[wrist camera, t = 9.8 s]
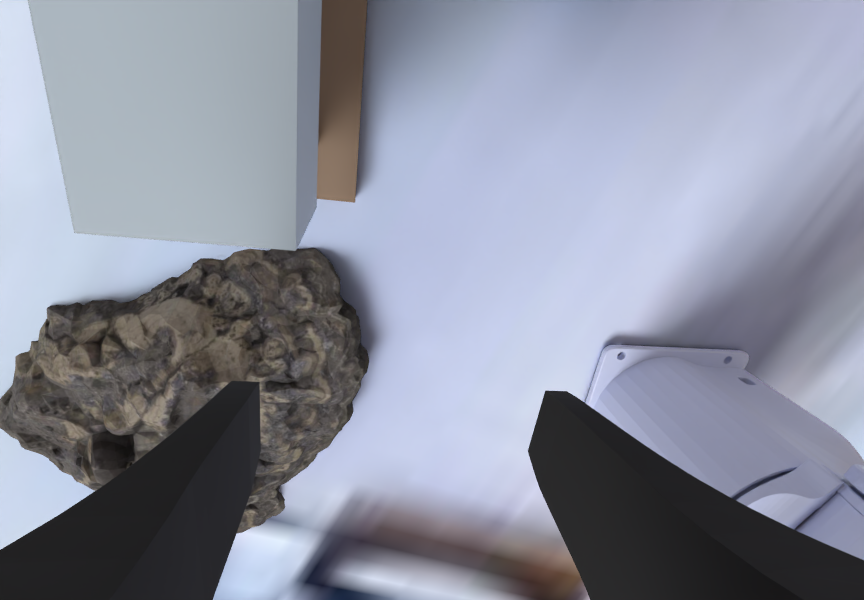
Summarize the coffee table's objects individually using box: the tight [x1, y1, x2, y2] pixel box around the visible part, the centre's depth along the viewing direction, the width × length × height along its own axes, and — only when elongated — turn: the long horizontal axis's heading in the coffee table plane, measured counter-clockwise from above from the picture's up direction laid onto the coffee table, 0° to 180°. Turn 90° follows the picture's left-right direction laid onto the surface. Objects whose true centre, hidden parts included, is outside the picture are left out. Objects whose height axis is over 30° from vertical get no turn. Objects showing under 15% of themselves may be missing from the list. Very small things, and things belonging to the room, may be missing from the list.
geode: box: [0, 248, 369, 533], centre depth 20 cm, size 19×4×15 cm
